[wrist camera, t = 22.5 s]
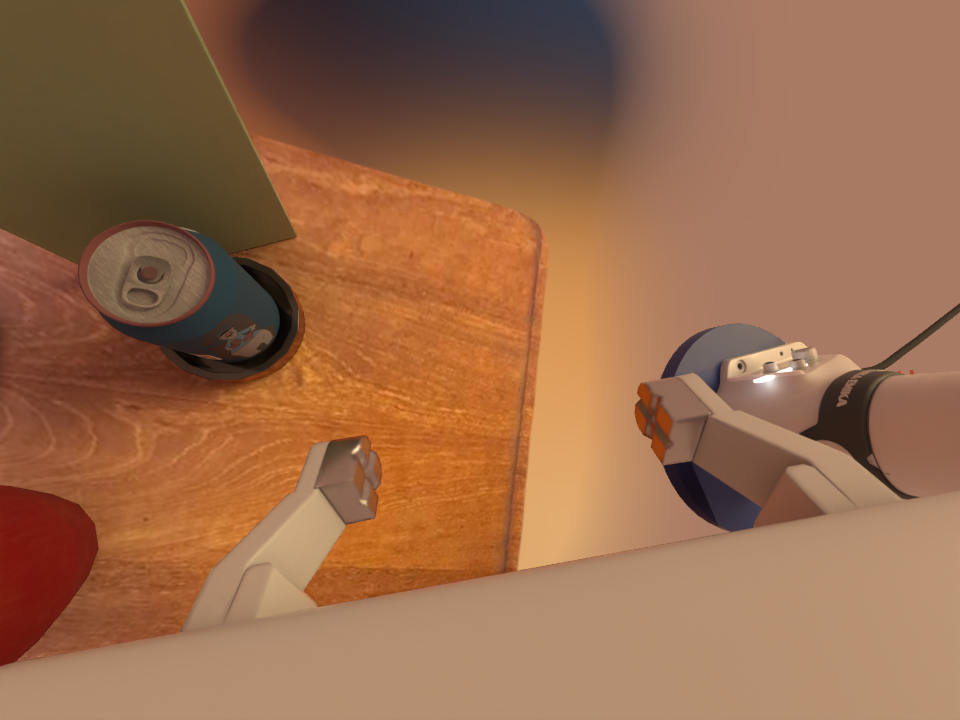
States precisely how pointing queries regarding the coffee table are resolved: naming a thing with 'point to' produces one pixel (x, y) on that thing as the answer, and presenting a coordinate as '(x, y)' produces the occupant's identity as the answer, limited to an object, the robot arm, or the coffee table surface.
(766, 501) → the robot arm
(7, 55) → the olive green plank
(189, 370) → the holder
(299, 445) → the coffee table surface
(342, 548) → the coffee table surface
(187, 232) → the soda can
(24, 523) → the apple
